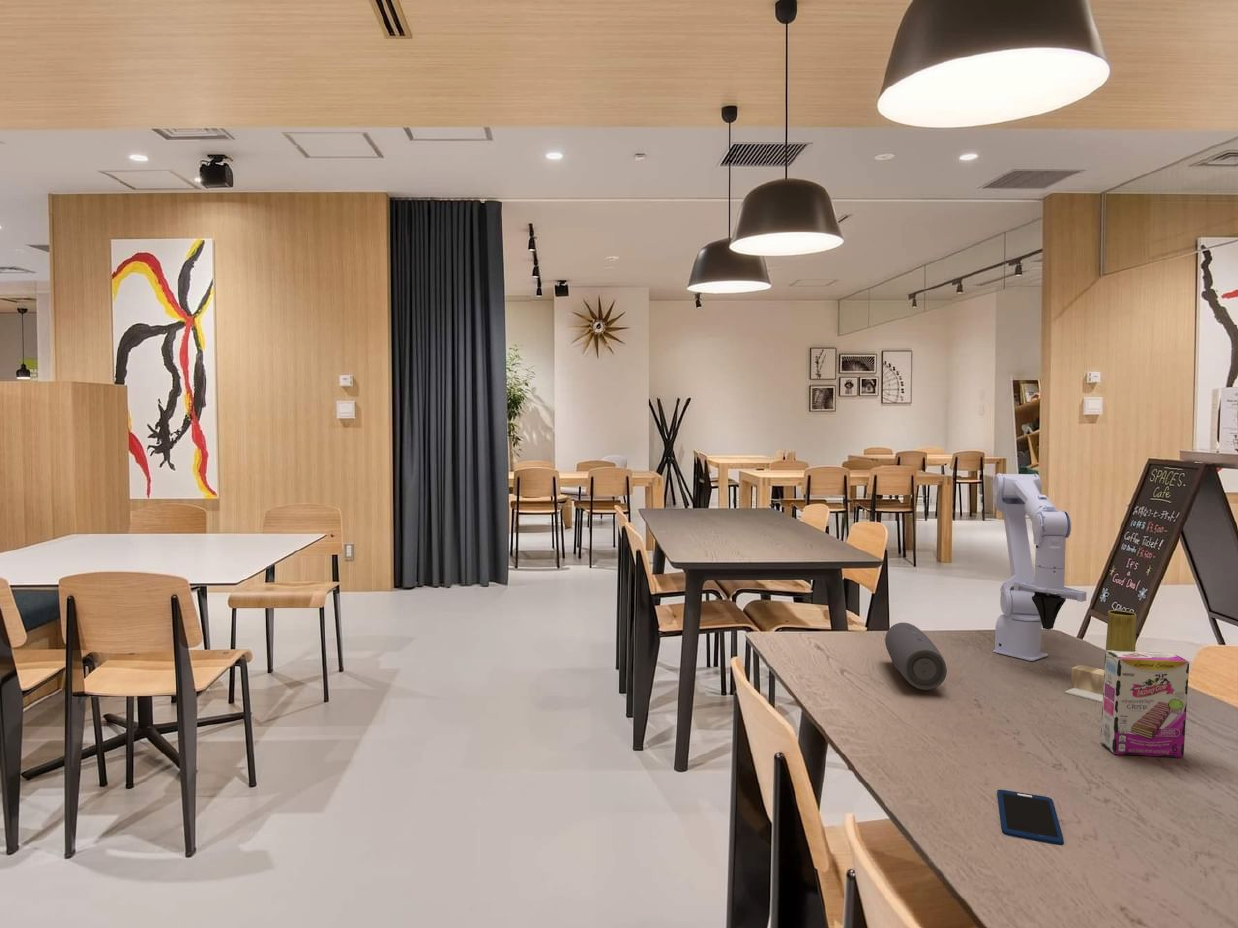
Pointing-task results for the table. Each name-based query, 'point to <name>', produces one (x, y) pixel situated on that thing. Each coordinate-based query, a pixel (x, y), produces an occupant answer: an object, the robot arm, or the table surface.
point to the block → (1087, 679)
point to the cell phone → (1029, 817)
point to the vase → (1121, 631)
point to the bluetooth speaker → (915, 656)
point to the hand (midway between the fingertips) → (1047, 628)
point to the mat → (1085, 694)
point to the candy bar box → (1144, 703)
